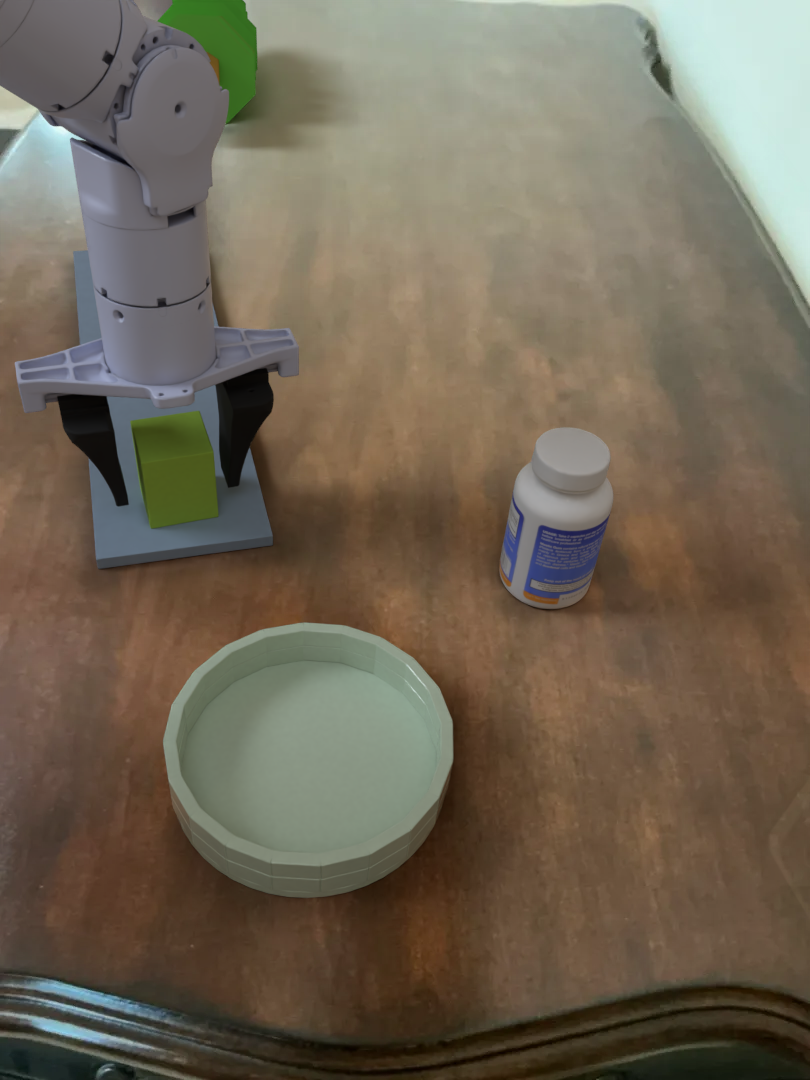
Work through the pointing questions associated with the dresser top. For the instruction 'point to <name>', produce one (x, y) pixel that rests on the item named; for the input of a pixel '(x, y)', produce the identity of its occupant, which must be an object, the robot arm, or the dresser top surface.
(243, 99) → the decorative tree
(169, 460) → the cube
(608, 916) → the dresser top surface
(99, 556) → the mat
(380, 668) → the basin
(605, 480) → the pill bottle
